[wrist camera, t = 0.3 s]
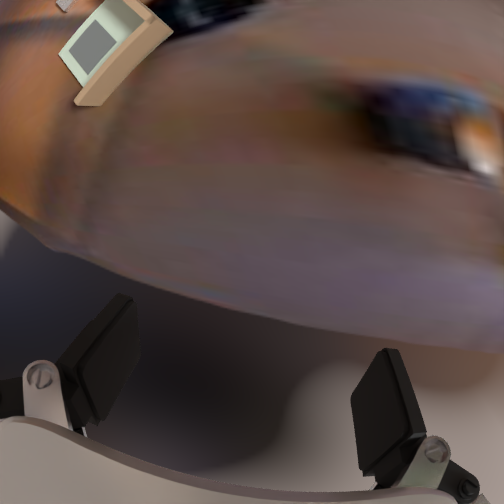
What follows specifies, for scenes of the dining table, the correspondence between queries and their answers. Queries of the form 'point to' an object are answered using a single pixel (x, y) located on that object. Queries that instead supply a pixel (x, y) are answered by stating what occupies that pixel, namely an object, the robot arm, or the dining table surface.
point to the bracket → (66, 4)
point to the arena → (111, 47)
